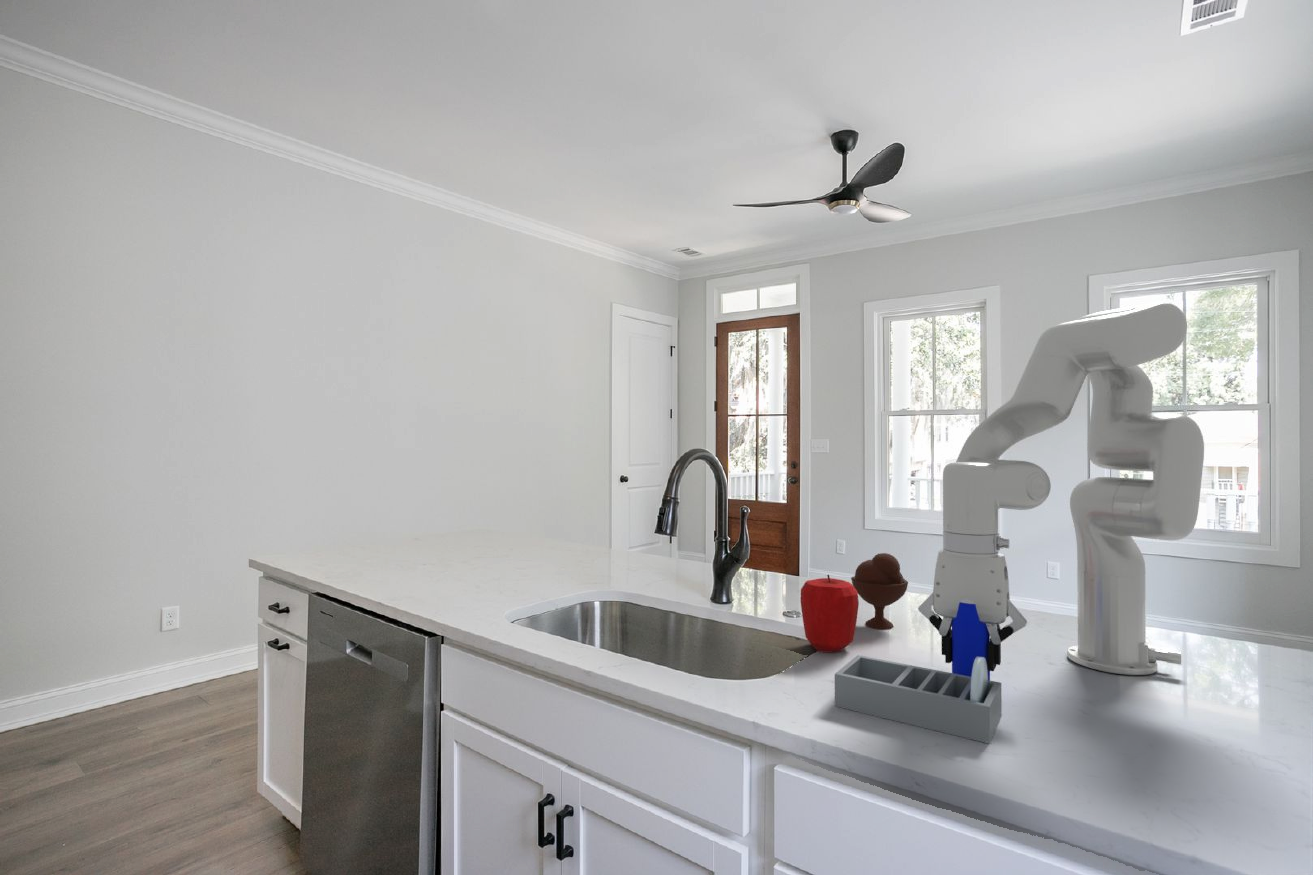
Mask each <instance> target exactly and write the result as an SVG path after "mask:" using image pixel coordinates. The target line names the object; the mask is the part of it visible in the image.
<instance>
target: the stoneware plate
mask: <svg viewBox="0 0 1313 875" xmlns="http://www.w3.org/2000/svg"><path fill="white" fill-rule="evenodd" d="M987 689H988V673H987V663H986V659H985V658H984V657H978V656H977V657H976V658H975V660H974V664H973V669H972V676H971V691H970V701H975V702H979V703H984V702H985V700H986V698H987Z"/></svg>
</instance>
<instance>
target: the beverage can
mask: <svg viewBox="0 0 1313 875" xmlns="http://www.w3.org/2000/svg"><path fill="white" fill-rule="evenodd" d="M951 629H952V662H951V673H954V674H959V675H964V676H969V677H971V676H972V669H973V664H974V660H975V658H976V657H977V656H978V657H984V658H985V659H986V663H987V673H988V680H990V681H991V671H989V670H988V643H989V642H990V638H991V637H990V634H989V631H988V628H987V625H986V623H983V622H981V621H980V620H979V616H978V613H977V609H976V605H975V603H973V602H972V601H970V600H967V599H965V600H962V601H960V603H959V607H958V612H957V616H956V618H954V619H953V618H952V627H951Z"/></svg>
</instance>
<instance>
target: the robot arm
mask: <svg viewBox="0 0 1313 875" xmlns="http://www.w3.org/2000/svg"><path fill="white" fill-rule="evenodd" d="M1187 330H1188V324H1187V319H1186V316H1185V314H1184V312H1183V311H1182V310H1181V309H1180V308H1179V307H1178V306H1177V305H1175V304H1173V303H1172V302H1167V301H1157V302H1149V303H1145V304H1139V305H1134V306H1133V305H1132V306H1127V307H1121V308H1115V309H1110V310H1103V311H1099V312H1094V313H1091V314H1087V315H1083V316H1081V317H1079V318H1077V319H1075V320H1071V321H1067V322H1066V321H1065V322H1062V323H1059V324H1056V325H1053V326H1051V327H1049V328H1047V329H1046V330H1045V331H1044V332H1042V333H1041V335H1040V337H1039V338H1038V340H1037V342H1036V344H1035V347H1034V349H1033V351H1032V353H1031V355H1030V357H1029V360H1028V362H1027V364H1026V366H1025V368H1024V370H1023V372H1022V375H1021V377H1020V379H1019V381H1018V383H1017V386H1016V388H1015V391H1014V393H1013V395H1012V397H1010V399H1008V401H1007V402H1005V403H1003V404H1002V405H1001V406H1000V407H998V408H997V409H995V411H993V412H992V413H991V414H990V415H988V416H987V417H986V418H985V419H983V421H982V422H981V423H979V425H978V426H976V427H975V428H974V430H973V431H972V432H971V433H970V434H969V436H968V437H967V439H966V440H965V442H964V444H963V446H962V447H961V450H960V453H959V455H958V457H957V459H956V461H953V462H949V463H948V464H946V465H945V466H944V468H943V472H942V549H939V550H938V554H937V558H936V562H935V569H934V578H933V580H934V581H933V589H932V590H933V592H931V594H930V595H929V596H928V597H926V599H925V600H924V601H923V602H922V603H921V604H920V605H919V606H918V608H917V610H918V611H919V613H921V615H923V617H925V618H926V620H928V621H929V622H930V624H931V625H932V626H933V627H934V628H935V629H936V630H937V631H938V634H939V635H940V636H941V655H943V656H944V657H945V658H944V659H945V661H944V662H945V664H950V663H951V664H952V618H953V619H954V618H956V616H957V612H958V607H959V603H960V601H962V600H965V599H967V600H970V601H972V602H973V603H975V605H976V609H977V613H978V616H979V620H980V621H981V622H983V623H986V625H987V628H988V631H989V634H990V642H989V643H988V670H989V671H990V672H994V671H995V669H996V667H997V665H998V666H1000V665H1001V664H1002V651H1001V650H1002V649H1001V648H1002V646H1001V645H1002V644H1001V643H1002V642H1003V641H1005V640H1007V639H1008V638H1009V637H1010V636H1012V634H1014V633H1016V632H1018V631H1019V630H1022V629H1023V628H1025V627H1026V626H1027V625H1028V620H1027V619H1026V618H1025V617H1024V616H1023V614H1022V613H1021V612H1020V611H1019V610H1018V608H1017V607H1016V605H1014V604H1013V603H1012V601H1011V600H1010V599H1011V596H1010V583H1009V572H1008V564H1007V561H1006V556H1005V554H1003V553H999V551H1000V550H1003V549H1009V548H1010V539H1009V538H1007V539H1006V538H1004V537H1001V536H1000V533H999V510H1000V509H1007V510H1015V511H1016V510H1017V511H1025V510H1026V511H1027V510H1028V511H1029V510H1032V509H1034V508H1037V507H1039V506H1041V505H1042V504H1043V503H1044V502H1045V501H1046V500H1047V498H1048V497H1049V495H1050V493H1051V488H1052V487H1051V481H1050V480H1051V479H1050V477H1049V475H1048V472H1046V470H1045V469H1044V468H1043V467H1041V466H1040V465H1038V464H1036V463H1034V462H1030V461H1026V460H1016V459H1015V460H1012V459H1011V460H1010V459H1009V460H1007V459H1000V458H1001V456H1003V454H1004V453H1005V452H1006V451H1008V450H1009V449H1010V448H1011V447H1013V446H1014V445H1016V444H1017V443H1020V442H1021V441H1023V440H1025V439H1027V438H1029V437H1032V436H1035V435H1037V434H1040V433H1042V432H1044V431H1047V430H1049V429H1052V428H1054V427H1055V426H1058V425H1060V424H1062V423H1064V422H1065V421H1066V420H1067V419H1068V418H1069V416H1070V415H1071V413H1072V410H1073V407H1074V405H1075V403H1076V401H1077V398H1078V396H1079V394H1080V391H1081V388H1083V387H1082V386H1083V384H1084V382H1085V380H1086V377H1087V376H1088V379H1089V380H1090V383H1091V388H1092V399H1091V400H1092V402H1091V411H1090V420H1089V428H1088V435H1087V455H1088V458H1089V460H1090V461H1091V463H1092V464H1094V465H1095V466H1097V467H1099V468H1102V469H1105V470H1106V469H1107V470H1115V471H1132V472H1152V476H1153V478H1152V479H1145V478H1131V477H1114V476H1113V477H1111V476H1097V477H1091V478H1086V479H1085V480H1082V481H1080V482H1079V483H1077V485H1075V487H1074V488H1073V489H1072V491H1071V494H1070V497H1069V509H1070V515H1071V518H1072V523H1073V527H1074V533H1075V539H1076V540H1075V541H1076V555H1077V556H1076V559H1077V563H1076V564H1077V568H1076V569H1077V573H1076V575H1077V576H1076V578H1077V580H1076V581H1077V582H1076V583H1077V585H1076V586H1077V587H1076V588H1077V592H1076V593H1077V603H1076V604H1077V644H1075V645H1072V646H1070V647H1068V648H1067V652H1066V655H1067V658H1068V659H1069V660H1070V661H1072V662H1074V663H1076V664H1078V665H1081V666H1083V667H1086V668H1090V669H1092V670H1097V671H1101V672H1105V673H1109V674H1110V673H1111V674H1117V675H1126V676H1146V675H1152V674H1155V673H1156V672H1157V671H1158V670H1159V669H1158V662H1157V661H1159V662H1166V663H1168V664H1174V665H1179V666H1182V653H1181V652H1180V651H1179V652H1178V651H1173V650H1171V648H1165V647H1157V646H1153V644H1149V639H1148V637H1147V636H1146V635H1147V634H1146V630H1147V629H1146V628H1147V624H1146V621H1147V620H1146V562H1145V558H1144V555H1143V553H1142V551H1141V550H1140V548H1139V546H1138V545H1137V543H1136V542H1135V540H1134V539H1133V537H1135V538H1136V537H1137V538H1143V539H1152V540H1159V541H1162V540H1163V541H1172V542H1173V541H1179V540H1183V539H1185V538H1187V537H1188V536H1189V535H1190V534H1191V533H1192V532H1193V530H1194V529H1195V525H1196V523H1197V520H1198V515H1199V514H1198V513H1199V508H1200V496H1201V488H1202V480H1203V479H1202V478H1203V468H1204V460H1205V441H1204V436H1203V434H1202V430H1201V429H1200V428H1201V427H1200V426H1199V425H1198V423H1197V422H1196V421H1195V420H1193V418H1191V417H1190V416H1187V415H1185V414H1181V413H1174V412H1173V413H1171V412H1170V413H1166V412H1165V413H1164V412H1163V413H1153V400H1154V399H1153V397H1154V388H1153V387H1154V386H1153V383H1152V381H1151V380H1150V378H1149V376H1148V375H1147V373H1146V372H1145V371H1144V370H1143V369H1142V368H1141V367H1140V365H1143V364H1145V363H1148V362H1151V361H1154V360H1156V359H1160V358H1163V357H1165V356H1168V355H1171V354H1172V353H1173V352H1175V351H1176V350H1178V349H1179V347H1181V345H1182V344H1183V343H1184V340H1185V338H1186V335H1187ZM932 608H933V609H932ZM1008 617H1010V619H1011V620H1012V622H1010V623H1008V624H1006V625H1005V626H1004V627H1001V624H1003V623H1005V622H1006V620H1007V618H1008Z"/></svg>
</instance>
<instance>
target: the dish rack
mask: <svg viewBox="0 0 1313 875" xmlns="http://www.w3.org/2000/svg"><path fill="white" fill-rule="evenodd" d="M970 691H971V677H969V676H964V675H959V674H954V673H952V672H949V671H943V670H937V669H932V668H928V667H922V666H916V665H911V664H906V663H903V662H902V663H900V662H895V661H889V660H885V659H880V658H874V657H871V656H870V657H869V656H863V655H860V654H857V655H856V656H855V657H853V658H852V659H851V660H850V661H848V662H847V663H846V664H845V665H844V666H843V667H841V668H840V669H838V671H837V672H835V673H834V707H836V708H837V707H838V708H841V709H845V710H850V711H855V712H858V713H862V714H866V715H871V716H875V717H879V718H882V719H887V720H891V721H894V722H899V723H903V724H907V725H910V726H915V727H919V728H923V729H924V728H925V729H928V730H932V731H936V732H940V733H943V734H944V733H945V734H949V735H952V736H956V737H961V738H964V739H969V740H974V741H978V742H981V743H985V744H989V745H990V744H991V741H992V739H993V738H994V737H993V736H994V734H995V732H996V730H997V727H998V725H999V723H1000V721H1001V718H1002V716H1003V714H1002V710H1003V709H1002V702H1003V701H1002V696H1003V695H1002V682H999V681H994V680H991V679H990V680H988V689H987V698H986V700H985V702H984V703H979V702H975V701H970Z"/></svg>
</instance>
